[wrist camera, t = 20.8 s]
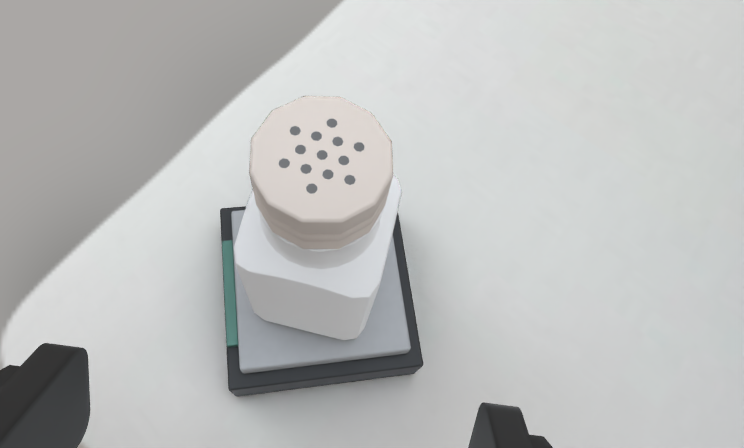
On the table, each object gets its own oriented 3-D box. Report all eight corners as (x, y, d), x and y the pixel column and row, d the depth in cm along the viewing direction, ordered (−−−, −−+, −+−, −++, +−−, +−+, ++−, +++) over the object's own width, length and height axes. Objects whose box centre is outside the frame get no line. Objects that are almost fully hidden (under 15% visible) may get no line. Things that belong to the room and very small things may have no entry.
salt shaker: (281, 218, 22) (260, 60, 14) (384, 244, 22) (428, 102, 14) (249, 319, 21) (202, 214, 12) (359, 347, 21) (391, 261, 12)
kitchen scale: (235, 396, 23) (225, 387, 20) (226, 227, 25) (216, 199, 23) (415, 373, 24) (427, 362, 21) (389, 212, 26) (397, 184, 24)
